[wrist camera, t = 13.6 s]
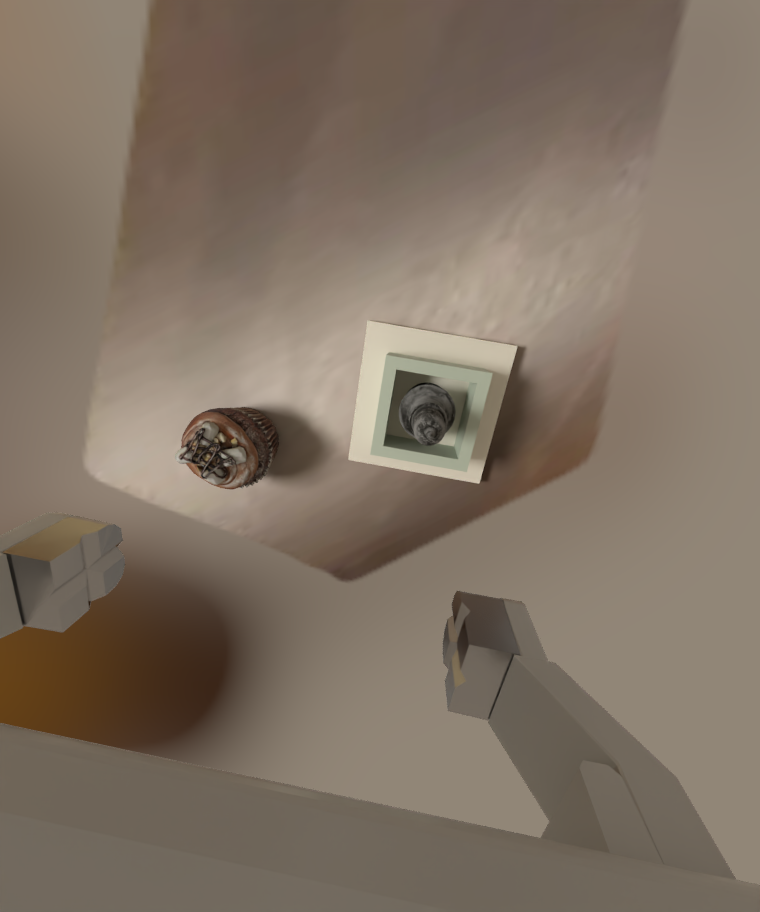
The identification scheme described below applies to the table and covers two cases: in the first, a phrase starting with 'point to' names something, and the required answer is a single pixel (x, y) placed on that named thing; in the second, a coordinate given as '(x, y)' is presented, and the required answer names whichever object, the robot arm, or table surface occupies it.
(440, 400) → the dark chess piece
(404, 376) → the stand
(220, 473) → the cupcake
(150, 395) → the table surface
